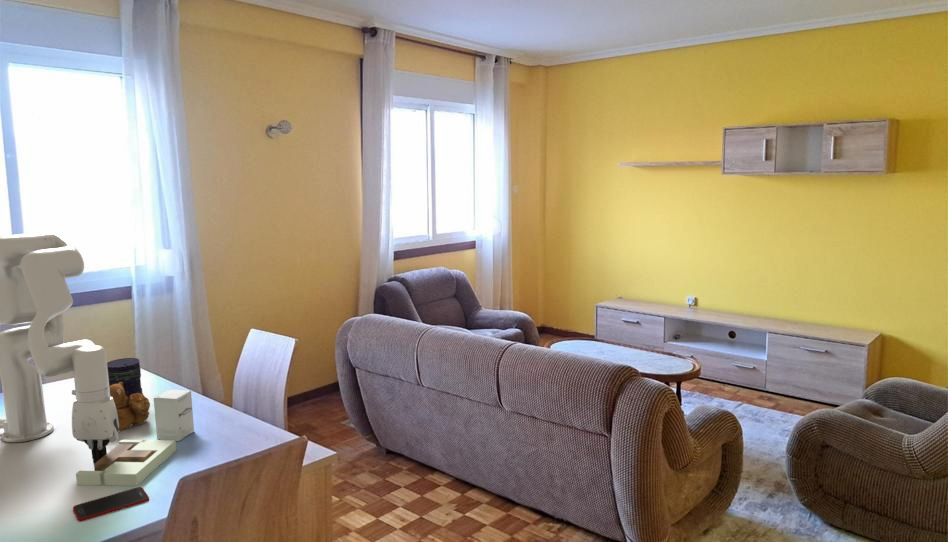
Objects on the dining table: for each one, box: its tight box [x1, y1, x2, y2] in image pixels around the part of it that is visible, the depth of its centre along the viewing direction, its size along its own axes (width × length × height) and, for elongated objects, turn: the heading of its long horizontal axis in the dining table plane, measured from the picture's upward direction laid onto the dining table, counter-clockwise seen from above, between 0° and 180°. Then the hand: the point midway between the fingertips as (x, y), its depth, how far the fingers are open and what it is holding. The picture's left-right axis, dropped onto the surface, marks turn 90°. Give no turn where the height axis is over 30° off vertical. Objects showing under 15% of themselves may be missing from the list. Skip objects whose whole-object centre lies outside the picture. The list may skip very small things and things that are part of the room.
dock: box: [75, 439, 177, 487], centre depth 175 cm, size 15×20×3 cm
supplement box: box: [153, 389, 195, 442], centre depth 193 cm, size 7×7×13 cm
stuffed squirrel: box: [109, 382, 151, 432], centre depth 201 cm, size 10×14×13 cm
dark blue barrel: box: [107, 357, 144, 398], centre depth 216 cm, size 10×10×15 cm
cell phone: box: [72, 486, 150, 522], centre depth 156 cm, size 8×15×1 cm, turn 130°
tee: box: [93, 443, 153, 471], centre depth 175 cm, size 11×12×4 cm
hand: (100, 461), depth 175 cm, fingers closed
